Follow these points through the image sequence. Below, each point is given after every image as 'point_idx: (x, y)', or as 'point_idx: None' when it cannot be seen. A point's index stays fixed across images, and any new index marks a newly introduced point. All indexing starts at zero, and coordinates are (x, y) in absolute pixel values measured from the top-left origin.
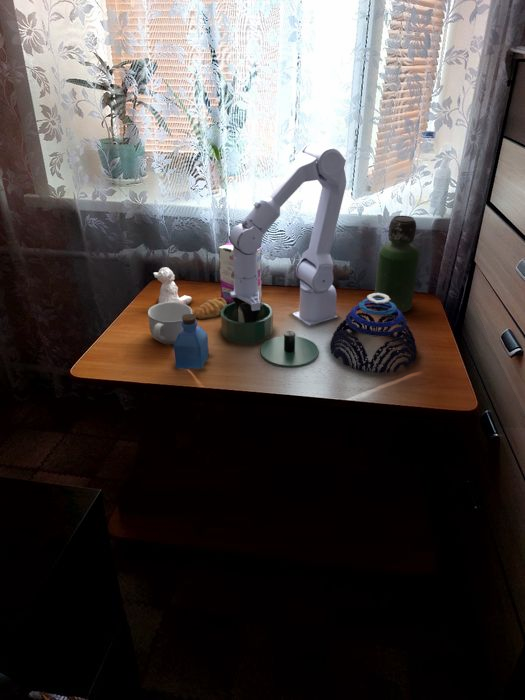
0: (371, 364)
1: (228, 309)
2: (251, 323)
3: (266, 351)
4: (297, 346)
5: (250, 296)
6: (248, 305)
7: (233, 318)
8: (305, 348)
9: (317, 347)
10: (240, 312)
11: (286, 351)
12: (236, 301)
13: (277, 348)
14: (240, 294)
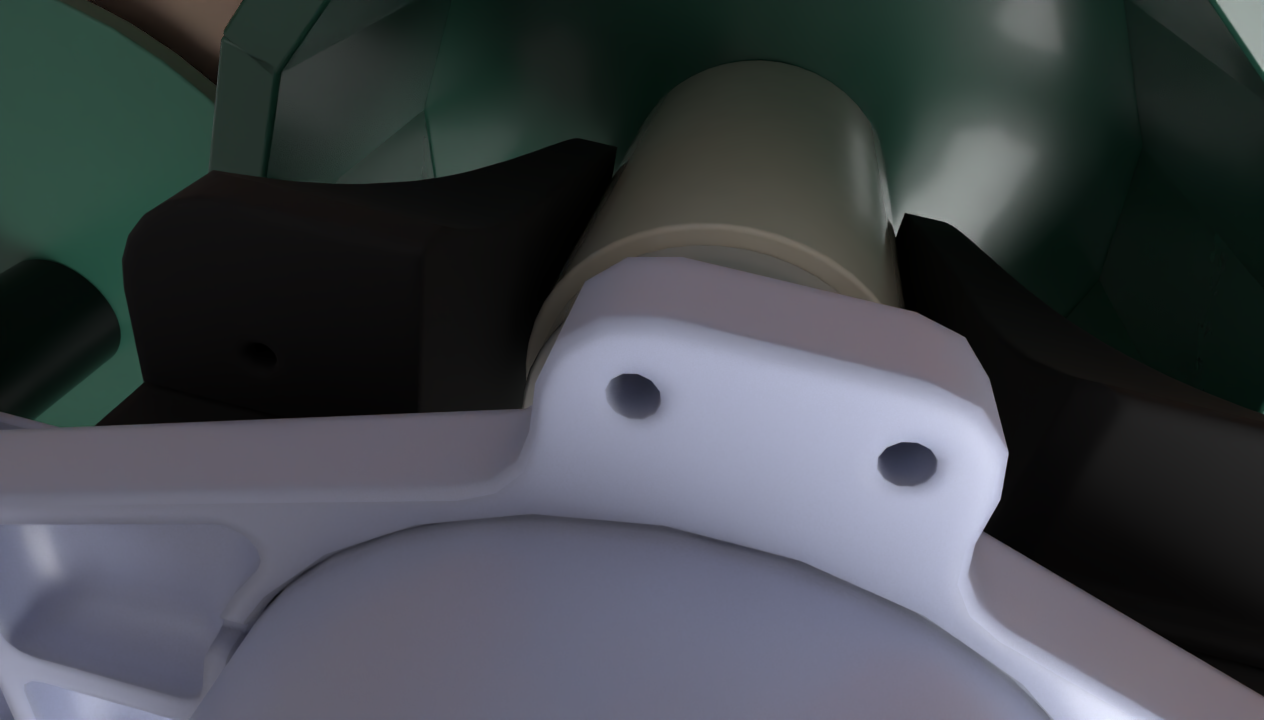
0: None
1: (1252, 163)
2: (209, 171)
3: (68, 77)
4: None
5: (174, 705)
6: (226, 420)
7: (1160, 189)
8: None
9: None
10: (666, 223)
11: (12, 265)
12: (1011, 393)
13: (113, 228)
14: (342, 593)
